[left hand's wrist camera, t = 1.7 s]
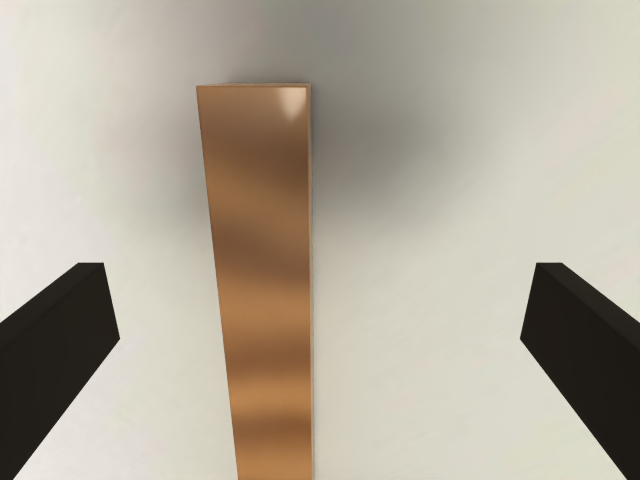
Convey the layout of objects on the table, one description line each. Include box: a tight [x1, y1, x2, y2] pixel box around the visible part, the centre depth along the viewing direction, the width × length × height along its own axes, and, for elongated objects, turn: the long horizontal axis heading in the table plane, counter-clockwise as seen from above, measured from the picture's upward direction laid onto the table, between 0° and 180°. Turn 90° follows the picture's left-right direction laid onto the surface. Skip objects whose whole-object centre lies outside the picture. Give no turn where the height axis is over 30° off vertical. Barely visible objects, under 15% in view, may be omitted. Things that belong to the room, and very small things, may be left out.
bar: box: [196, 83, 314, 480], centre depth 34 cm, size 59×5×7 cm, turn 0°
